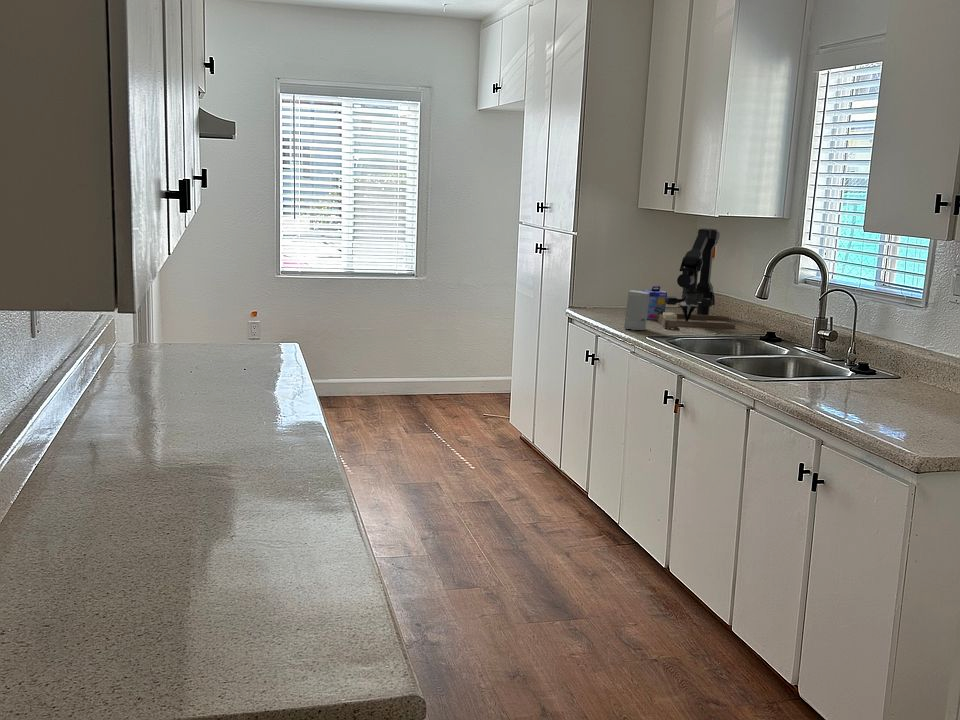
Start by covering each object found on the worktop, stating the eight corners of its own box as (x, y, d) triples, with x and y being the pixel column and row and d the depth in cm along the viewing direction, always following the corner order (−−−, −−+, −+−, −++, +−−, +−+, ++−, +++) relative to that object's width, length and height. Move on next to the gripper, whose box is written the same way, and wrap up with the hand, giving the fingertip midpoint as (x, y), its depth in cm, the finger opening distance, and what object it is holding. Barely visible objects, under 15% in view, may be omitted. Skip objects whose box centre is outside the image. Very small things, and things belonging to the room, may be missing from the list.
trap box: (657, 320, 406) (657, 312, 405) (723, 323, 406) (724, 315, 406) (665, 328, 389) (665, 320, 388) (734, 331, 389) (735, 323, 388)
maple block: (662, 320, 399) (663, 312, 398) (673, 320, 399) (674, 312, 398) (664, 322, 394) (665, 314, 393) (676, 323, 394) (677, 315, 393)
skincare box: (623, 329, 382) (627, 291, 379) (626, 326, 389) (629, 289, 386) (644, 331, 380) (648, 293, 377) (646, 328, 387) (650, 290, 383)
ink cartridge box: (643, 319, 408) (646, 286, 405) (639, 317, 414) (642, 284, 410) (665, 319, 410) (668, 286, 407) (660, 317, 416) (663, 284, 412)
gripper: (671, 286, 386) (668, 324, 389) (716, 288, 386) (712, 326, 389) (666, 282, 397) (663, 319, 400) (710, 284, 397) (706, 320, 400)
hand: (686, 321), depth 397 cm, fingers closed
